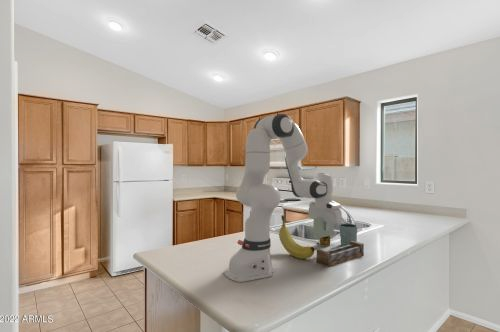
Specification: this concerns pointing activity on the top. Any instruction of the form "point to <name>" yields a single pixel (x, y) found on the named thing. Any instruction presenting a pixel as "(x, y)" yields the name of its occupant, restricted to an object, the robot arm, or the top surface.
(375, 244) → the top surface
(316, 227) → the door panel
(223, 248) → the top surface
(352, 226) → the grey-green cup
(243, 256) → the robot arm
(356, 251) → the track base
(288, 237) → the banana
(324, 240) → the condiment
